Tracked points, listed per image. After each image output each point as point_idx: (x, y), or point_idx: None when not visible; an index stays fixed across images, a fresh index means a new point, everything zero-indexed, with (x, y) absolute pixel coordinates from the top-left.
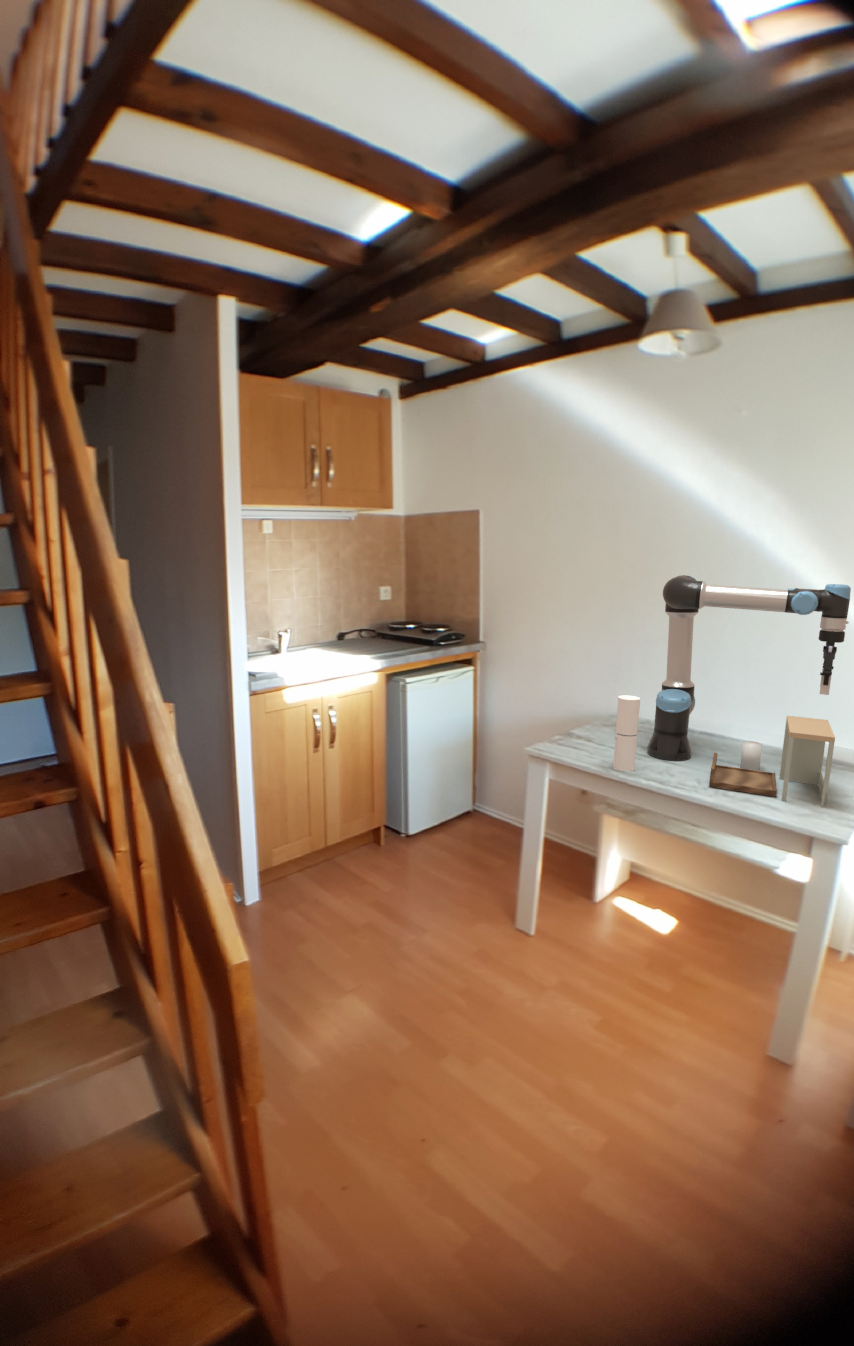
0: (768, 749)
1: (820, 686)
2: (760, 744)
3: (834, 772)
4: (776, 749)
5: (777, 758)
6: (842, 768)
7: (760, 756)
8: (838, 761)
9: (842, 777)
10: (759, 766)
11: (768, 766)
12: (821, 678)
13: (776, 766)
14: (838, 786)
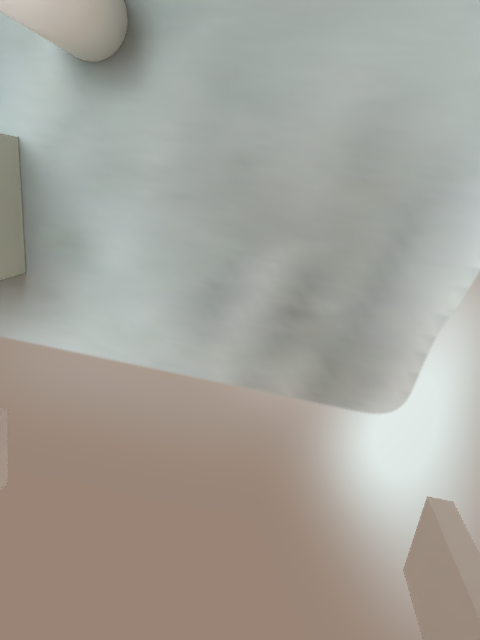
0: (451, 128)
1: (426, 505)
2: (28, 12)
3: (194, 350)
4: (464, 168)
5: (303, 157)
6: (260, 388)
7: (49, 40)
8: (354, 394)
9: (144, 363)
10: (76, 56)
11: (159, 106)
12: (463, 589)
13: (175, 141)
14: (34, 329)
